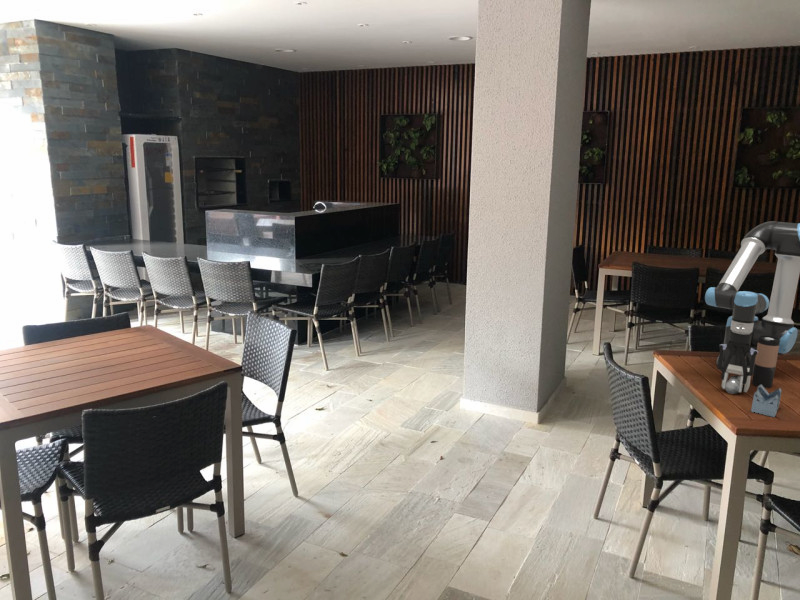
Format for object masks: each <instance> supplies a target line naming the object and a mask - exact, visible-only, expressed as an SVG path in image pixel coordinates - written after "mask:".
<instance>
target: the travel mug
mask: <svg viewBox="0 0 800 600" xmlns="http://www.w3.org/2000/svg"><path fill="white" fill-rule="evenodd" d="M779 343H780V339H779V338H777V337H774V336H768V335H760V336H759V339H758V345H757V348H756V350H758V353H757V355H756V359H755V365H754V372H753V375H752V377H751V378H752V379H751V385H753V386H755V387H758V386H759V385H761V384H762V386H763V387H764V388H765V389H770V387H771V388H772V386H773V382H774V376H775V373H776V367H777V362H778V355H779V353H778V350H779Z"/></svg>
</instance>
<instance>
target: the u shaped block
mask: <svg viewBox="0 0 800 600" xmlns="http://www.w3.org/2000/svg"><path fill="white" fill-rule="evenodd" d="M749 370H750V368H747V371H748V372H749ZM726 371H728V377H727V382H728V380H729V374H734V375H738V376H741V375H742V374H743V368H742V367H741V366H736V365H731V364H729V366H728V368H727V370H726ZM751 378H752V376H747V382H746V384H744V386H743V393H747V392H748V390H749V389H750V386H751V381H752V379H751ZM723 382H724V380H722V379H721V388H723Z"/></svg>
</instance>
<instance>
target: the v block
mask: <svg viewBox="0 0 800 600" xmlns="http://www.w3.org/2000/svg"><path fill="white" fill-rule="evenodd" d="M781 396H782V389H781V388H780V387H779V388H777V389H775V390H773V391H772V392H768V390H767V388H764V387H763V386H762V384H761V385H759V386H757V390H756V391H755V392H754V393H753V397H752V403H751V410H750V412H751V413H754V412H755V413H754V414H758V413H759V415H762V414H763V415H764V416H767V417H772V418H775V417H776V415H777V412H778V410H779V408H780V407H779V406H780V402H781Z"/></svg>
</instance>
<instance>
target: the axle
mask: <svg viewBox="0 0 800 600" xmlns="http://www.w3.org/2000/svg"><path fill="white" fill-rule="evenodd" d="M740 379H741V375H739V374H734V375H731V376H730V377H729V378H728V382H727V383H726V384H725V389H724V390H725V391H726V392H727V394H731V395H735V394H738V393H739V386H740Z"/></svg>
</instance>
